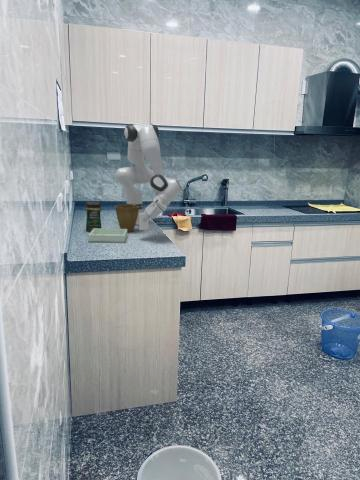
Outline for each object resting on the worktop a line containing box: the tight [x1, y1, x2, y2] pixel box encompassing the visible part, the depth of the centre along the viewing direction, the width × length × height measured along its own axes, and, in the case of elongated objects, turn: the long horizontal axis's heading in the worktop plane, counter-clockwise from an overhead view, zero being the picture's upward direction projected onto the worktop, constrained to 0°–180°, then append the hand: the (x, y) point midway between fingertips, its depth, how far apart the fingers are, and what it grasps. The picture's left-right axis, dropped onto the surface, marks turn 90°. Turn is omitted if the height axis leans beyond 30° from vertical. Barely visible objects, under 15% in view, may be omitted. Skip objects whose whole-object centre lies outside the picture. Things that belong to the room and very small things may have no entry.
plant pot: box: [114, 204, 139, 233], centre depth 226 cm, size 15×15×16 cm
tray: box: [87, 228, 128, 244], centre depth 206 cm, size 18×20×4 cm
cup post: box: [138, 213, 150, 231], centre depth 206 cm, size 5×5×9 cm
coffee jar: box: [85, 201, 102, 232], centre depth 224 cm, size 10×8×19 cm
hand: (142, 220), depth 206 cm, fingers closed on cup post, 5 cm apart
